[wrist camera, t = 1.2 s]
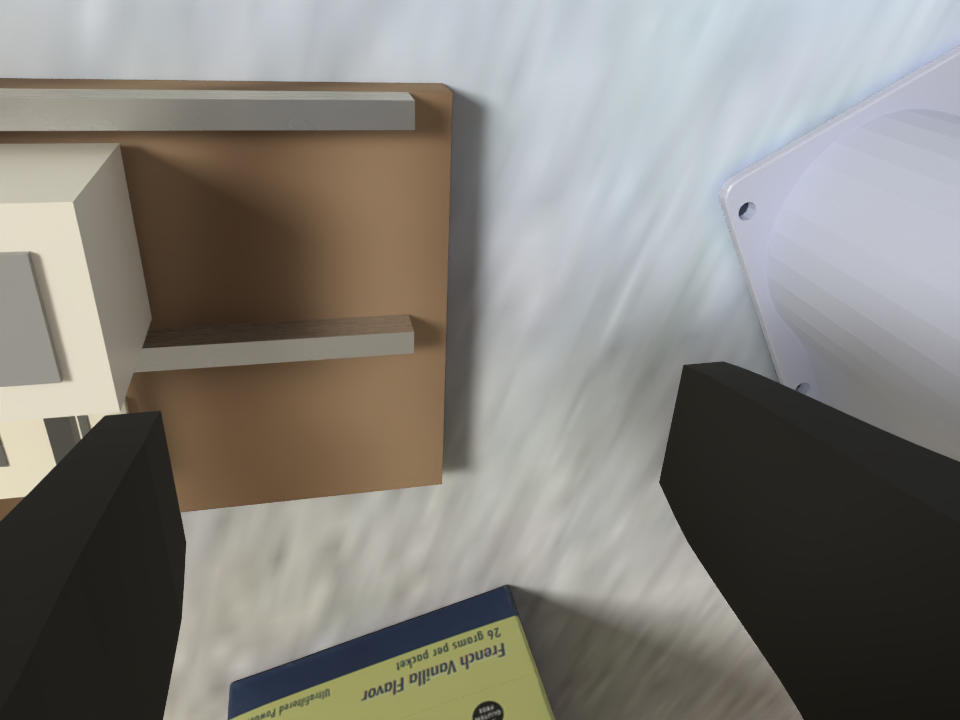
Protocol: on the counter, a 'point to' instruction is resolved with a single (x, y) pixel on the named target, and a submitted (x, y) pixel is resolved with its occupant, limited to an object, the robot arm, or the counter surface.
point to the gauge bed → (289, 291)
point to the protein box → (410, 672)
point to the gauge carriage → (67, 286)
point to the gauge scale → (32, 452)
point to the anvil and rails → (231, 113)
